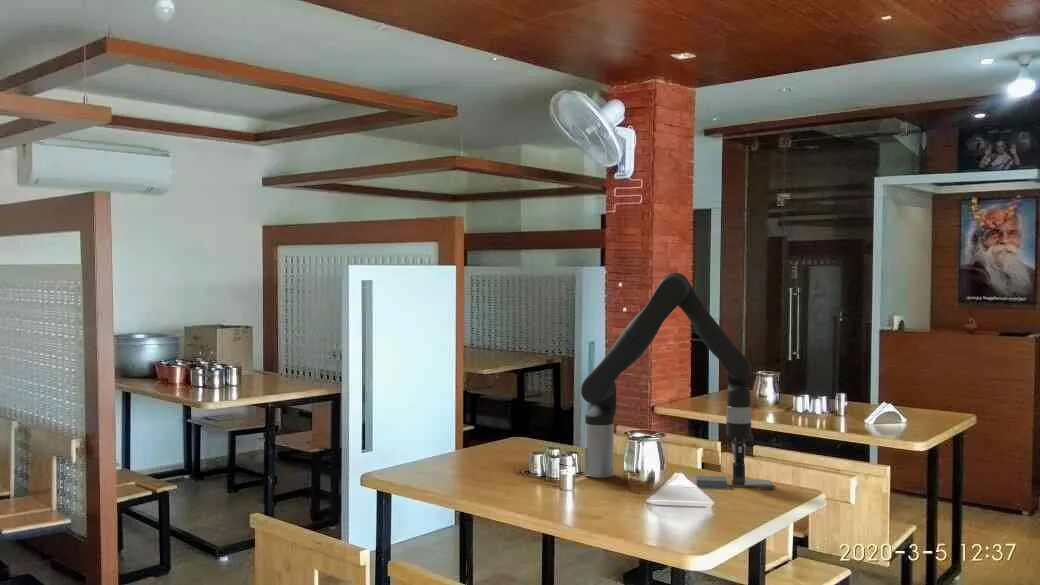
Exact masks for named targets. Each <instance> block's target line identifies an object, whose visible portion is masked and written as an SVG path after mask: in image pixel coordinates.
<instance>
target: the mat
mask: <svg viewBox="0 0 1040 585" xmlns="http://www.w3.org/2000/svg"><path fill="white" fill-rule="evenodd" d="M692 482H693V483H694V484H696V485H697V483H696V481H692ZM698 489H713V490H715V489H716V490H717V489H718V490H730V489H731V488H730V484H729V482H727V488H718V487H699V488H698Z"/></svg>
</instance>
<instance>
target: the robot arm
mask: <svg viewBox="0 0 1040 585" xmlns="http://www.w3.org/2000/svg"><path fill="white" fill-rule="evenodd" d="M677 307H678V308H680V309H681V311H682V312H684V314H685V315H686V317H687V318H688V320H689V322H690V323H691V324H692V326H693V328H694V330H695V332H696V333H697V335H698V337H699V338H700V340H701V342H702V343H704V344H703V345H705V346H706V348H707V349H708V350H709V351H710V353H712V354H713V356H715V357H716V358H717V359H718V360H719V363H721V365H722V366H723V368H724V369H725V370H726V373H725V374H726V384H727V394H726V404H727V406H726V412H725V413H726V416H725V417H726V419H725V421H726V422H725V425H726V426H725V427H726V428H725V430H726V431H725V433H726V436H727V437H730V438H733V440H732V441H731V447H732V455H733V456H732V457H733V460H734V461H733V462H735V465H736V477H737V478H742V477H743V465H744V464H745V458H746V445H747V444H746V441H744V439H745V438H750V437H751V436H752V411H751V391H750V387H749V383H750V382H749V380H750V378H749V376H750V375H751V374H752V365H751V362H750V361H749V360H748V359H747V358H746V356H745V355H743V353H742V352H741V351H740V350H739V349H738V348H737V347H736V345H735V344H734V343H733V341H732V340H731V338H730V337H729V336H728V335H727V333H726V332H725V331H724V330H723V328H722V327H721V326H720V325H719V324H718V323H717V321H716V320H715V319H714V318H713V317H712V315H711V314H710V312H709V311H708V310H707V309H706V307H705V306H704V305H703V303H702V301H701V300H700V298H699V297H698V296H697V293H696V292H695V290H694V288H693V287H692V284H691V283H690V281H689V280H688V278H687V277H686V276H685V275H684V274H682V273H680V272H671V273H669V274H667V275H666V276H665V277H663V278H662V279H661V280H660V281H659V283H658V285H657V287H656V289H655V291H654V292H653V294H652V296H651V297H650V298H649V301H647V304H646V305H645V306H644V307H643V308H642V309H641V311H640V312H639V313H638V314H636V315H635V317H634V318H633V319H632V320H631V321H630V322H629V323H628V325H627V326H626V327H625V329H624V330H623V331H622V332H621V334H620V335H619V336H618V338H617V339H616V341H615V343H613V344H612V346H611V347H610V349H609V350H608V351H607V353H606V355H605V357H603V359H602V360H601V362H599V364H598V365H597V366H596V367H595V368H594V370H592V371H591V372H590V373H589V374H588V375H587V376H586V378H584V380H583V382H582V383H581V387H580V392H581V396H582V398H583V400H584V401H585V402H588V403H589V404H590V405H589V410H588V411H587V413H586V414H585V418H584V419H585V423H584V426H585V428H584V432H585V433H584V434H585V436H584V437H585V441H584V442H585V444H584V445H585V446H584V475H585V474H588V475H590V477H589V478H595V479H605V478H611V477H614V473H615V471H614V466H615V465H614V464H615V463H614V461H615V460H614V456H615V455H614V454H615V453H614V446H615V445H614V440H615V439H614V431H615V430H614V420H615V419H614V418H615V416H616V410H617V384H616V382H615V381H616V380H617V378H618V377H619V376H620V375H621V374H622V373H623V372H624V371H625V370H626V369H628V368H629V367H630V366H632V365H633V364H634V363H635V362H636V361H637V360H638V359H639V358H640V357H642V355H643V354H644V353H645V351H646V350H647V349H648V348H649V346H650V344H651V343H652V342H653V340H654V339H655V337H656V336H657V334H658V332H659V330H660V329H661V326H662V324H663V323H664V321H665V320H666V319H667V318H668V317H669V316H670V315H671V313H672V312H673V311H674V310H675V309H676V308H677Z"/></svg>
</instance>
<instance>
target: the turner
mask: <svg viewBox="0 0 1040 585" xmlns="http://www.w3.org/2000/svg"><path fill="white" fill-rule="evenodd" d="M732 480H733V484H744V485H746V486H771V483H772V481H771V480H770V479H754V478H753V479H751V478H750V479H749V478H746V464H745V463H744V465H743V477H742V478H737V477H736V465H735V461H733V462H732Z"/></svg>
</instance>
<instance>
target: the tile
mask: <svg viewBox="0 0 1040 585" xmlns="http://www.w3.org/2000/svg"><path fill="white" fill-rule="evenodd" d="M695 482H696V483H697V486H698V487H718V488H727V483H728V482H727V477H726V476H718V475H717V476H713V475H711V476H710V475H696V481H695Z"/></svg>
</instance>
